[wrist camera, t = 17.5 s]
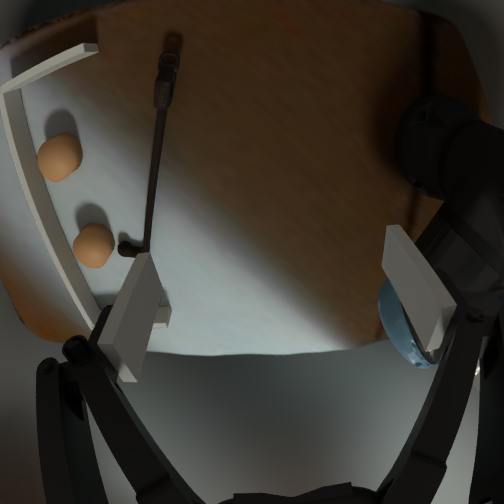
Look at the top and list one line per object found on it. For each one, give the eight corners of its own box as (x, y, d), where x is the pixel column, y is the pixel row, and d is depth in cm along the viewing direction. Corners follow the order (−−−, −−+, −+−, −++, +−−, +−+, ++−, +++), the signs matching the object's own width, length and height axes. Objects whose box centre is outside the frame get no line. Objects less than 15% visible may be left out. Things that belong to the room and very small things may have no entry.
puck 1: (79, 130, 35) (67, 136, 32) (86, 170, 38) (74, 179, 35) (46, 137, 35) (33, 143, 32) (54, 174, 38) (42, 183, 35)
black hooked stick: (122, 242, 47) (146, 47, 30) (152, 248, 48) (187, 53, 31) (113, 263, 43) (134, 49, 26) (145, 269, 44) (179, 54, 27)
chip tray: (97, 43, 29) (83, 43, 25) (171, 311, 53) (167, 327, 49) (13, 84, 29) (-4, 89, 26) (97, 314, 54) (91, 329, 50)
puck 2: (116, 227, 44) (108, 239, 41) (114, 259, 47) (106, 272, 44) (82, 218, 42) (72, 230, 40) (82, 250, 46) (73, 262, 43)
